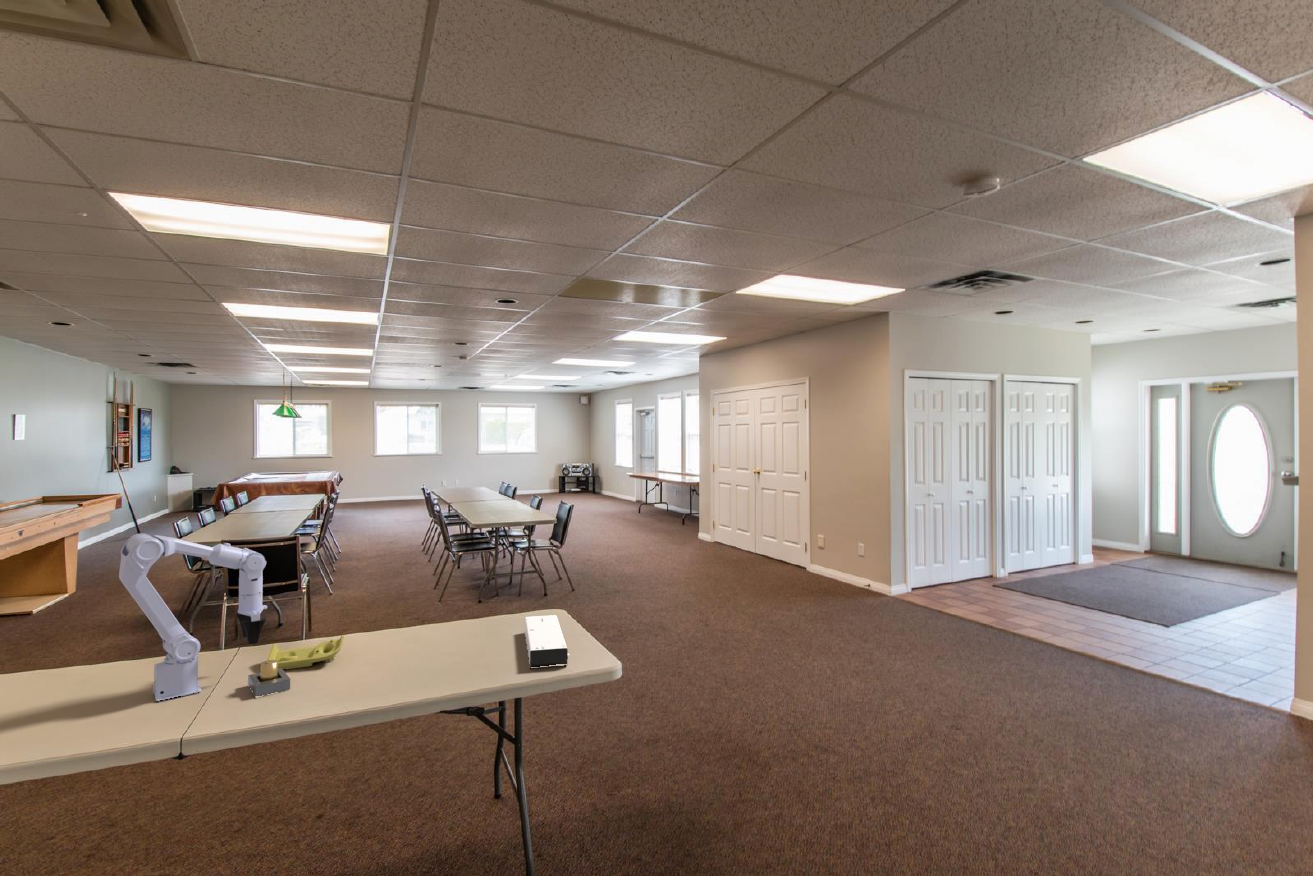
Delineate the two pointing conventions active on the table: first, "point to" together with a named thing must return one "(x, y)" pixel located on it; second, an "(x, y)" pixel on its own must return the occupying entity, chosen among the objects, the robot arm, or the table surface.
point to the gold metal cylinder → (269, 670)
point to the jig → (269, 683)
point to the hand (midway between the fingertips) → (250, 640)
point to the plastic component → (305, 654)
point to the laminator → (545, 641)
